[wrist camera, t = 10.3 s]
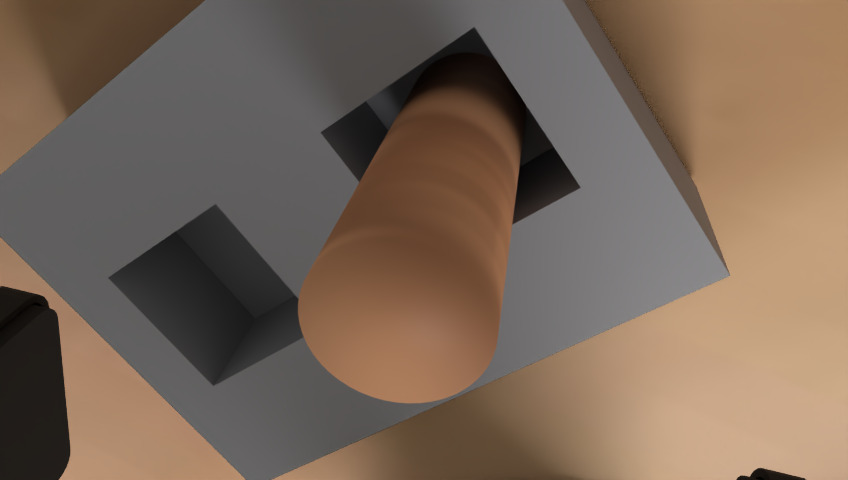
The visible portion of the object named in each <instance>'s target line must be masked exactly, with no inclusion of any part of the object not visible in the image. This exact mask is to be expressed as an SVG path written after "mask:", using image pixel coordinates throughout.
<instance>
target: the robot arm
mask: <svg viewBox="0 0 848 480" xmlns="http://www.w3.org/2000/svg"><path fill="white" fill-rule="evenodd" d="M69 457H70V440H69V429H68V419H67V408H66V398H65V387H64V377H63V366H62V356H61V345H60V335H59V324H58V317H57V313H56V312H55V310H53V309H50V308H49V305H48V301H47V300H46V299H45V297H43V296H41V295H38V294H33V293H29V292H25V291H21V290H17V289H13V288H8V287H4V286H2V287H0V480H59V478H60V477H61V476H62V474H63V473H64V471H65V469H66V467H67V464H68V461H69ZM737 480H806V479H805V478H801V477H796V476H792V475H788V474H784V473H780V472H776V471H771V470H767V469H763V468H758V469H756V470H755V471H753V473H752V474H751V476H750V477H747V476H740V477H738V478H737Z"/></svg>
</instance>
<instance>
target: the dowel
mask: <svg viewBox="0 0 848 480" xmlns="http://www.w3.org/2000/svg"><path fill="white" fill-rule="evenodd" d="M525 120H526V104H525V102H524V101H523V99H522V98H521V96H520V95H519V93H518V92H517V90H516V89H515V87H514V86H513V84H512V83H511V81H510V80H509V78H508V77H507V75H506V74H505V72H504V71H503V69H502V68H501V66H500V65H499V63H498V62H497V60H495V59H493V58H491V57H488V56H485V55H482V54H477V53H456V54H451V55H448V56H445V57H443V58H440V59H439V60H437V61H435V62H434V63H432V64H431V65H430V66H429V67H427V68H426V69H425V70H424V72H423V73H422V74H421V75H420V77H419V78H418V80H417V81H416V83H415V85H414V87H413V89H412V90H411V92H410V94H409V96H408V97H407V99H406V101H405V103H404V104H403V106H402V108H401V110H400V112H399V113H398V115H397V117H396V119H395V120H394V122H393V124H392V126H391V127H390V129H389V131H388V133H387V135H386V136H385V138H384V140H383V142H382V143H381V145H380V147H379V149H378V150H377V152H376V154H375V156H374V158H373V159H372V161H371V163H370V165H369V166H368V168H367V170H366V172H365V174H364V175H363V177H362V179H361V181H360V182H359V184H358V186H357V188H356V189H355V191H354V193H353V195H352V197H351V198H350V200H349V202H348V204H347V205H346V207H345V209H344V211H343V212H342V214H341V216H340V218H339V220H338V221H337V223H336V225H335V227H334V228H333V230H332V232H331V234H330V235H329V237H328V239H327V241H326V243H325V244H324V246H323V248H322V250H321V251H320V253H319V255H318V257H317V258H316V260H315V262H314V264H313V266H312V267H311V269H310V271H309V273H308V274H307V276H306V278H305V280H304V282H303V285H302V288H301V291H300V294H299V301H298V317H299V323H300V327H301V330H302V334H303V336H304V338H305V341H306V343H307V345H308V347H309V348H310V350H311V351H312V353H313V355H314V356H315V357H316V358H317V360H318V361H319V362H320V363H321V365H322V366H323V367H324V368H326V369H327V370H328V371H329V372H330V373H331V374H332V375H333V376H335V377H336V378H337V379H338V380H340V381H341V382H343V383H344V384H346V385H347V386H349V387H351V388H353V389H355V390H357V391H359V392H361V393H363V394H366V395H369V396H371V397H374V398H378V399H381V400H386V401H391V402H397V403H425V402H432V401H437V400H441V399H444V398H447V397H450V396H452V395H455V394H457V393H459V392H461V391H462V390H464V389H466V388H467V387H468V386H470V385H471V384H473V383H474V382H475V381H476V380H477V379H478V378H479V377H480V376H481V375H482V374H483V372H484V371H485V370H486V369H487V367H488V365H489V364H490V362H491V360H492V358H493V355H494V352H495V350H496V345H497V340H498V333H499V325H500V317H501V309H502V301H503V293H504V285H505V278H506V270H507V262H508V254H509V246H510V238H511V230H512V222H513V214H514V207H515V199H516V191H517V183H518V175H519V167H520V159H521V151H522V143H523V136H524V128H525Z"/></svg>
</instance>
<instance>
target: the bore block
mask: <svg viewBox="0 0 848 480" xmlns="http://www.w3.org/2000/svg"><path fill="white" fill-rule="evenodd" d="M456 53H477V54H482V55H485V56H488V57H491V58H493V59H495V60H497V62H498V63H499V65H500V66H501V68H502V69H503V71H504V72H505V74H506V75H507V77H508V78H509V80H510V81H511V83H512V84H513V86H514V87H515V89H516V90H517V92H518V93H519V95H520V96H521V98H522V99H523V101H524V102H525V104H526V120H525V128H524V136H523V143H522V151H521V159H520V167H519V175H518V183H517V191H516V199H515V207H514V214H513V222H512V230H511V238H510V246H509V254H508V262H507V270H506V278H505V285H504V293H503V301H502V309H501V317H500V325H499V333H498V340H497V345H496V350H495V352H494V355H493V358H492V360H491V362H490V364H489V365H488V367H487V369H486V370H485V371H484V372H483V374H482V375H481V376H480V377H479V378H478V379H477V380H476V381H475V382H474V383H473V384H471V385H470V386H468V387H467V388H466V389H464V390H462V391H461V392H459V393H457V394H455V395H452V396H450V397H447V398H444V399H441V400H437V401H432V402H425V403H397V402H391V401H386V400H381V399H378V398H374V397H371V396H369V395H366V394H363V393H361V392H359V391H357V390H355V389H353V388H351V387H349V386H347V385H346V384H344V383H343V382H341V381H340V380H338V379H337V378H336V377H335V376H333V375H332V374H331V373H330V372H329V371H328V370H327V369H326V368H324V367H323V366H322V365H321V363H320V362H319V361H318V360H317V358H316V357H315V356H314V355H313V353H312V351H311V350H310V348H309V347H308V345H307V343H306V341H305V338H304V336H303V334H302V330H301V327H300V323H299V317H298V301H299V294H300V291H301V288H302V285H303V282H304V280H305V278H306V276H307V274H308V273H309V271H310V269H311V267H312V266H313V264H314V262H315V260H316V258H317V257H318V255H319V253H320V251H321V250H322V248H323V246H324V244H325V243H326V241H327V239H328V237H329V235H330V234H331V232H332V230H333V228H334V227H335V225H336V223H337V221H338V220H339V218H340V216H341V214H342V212H343V211H344V209H345V207H346V205H347V204H348V202H349V200H350V198H351V197H352V195H353V193H354V191H355V189H356V188H357V186H358V184H359V182H360V181H361V179H362V177H363V175H364V174H365V172H366V170H367V168H368V166H369V165H370V163H371V161H372V159H373V158H374V156H375V154H376V152H377V150H378V149H379V147H380V145H381V143H382V142H383V140H384V138H385V136H386V135H387V133H388V131H389V129H390V127H391V126H392V124H393V122H394V120H395V119H396V117H397V115H398V113H399V112H400V110H401V108H402V106H403V104H404V103H405V101H406V99H407V97H408V96H409V94H410V92H411V90H412V89H413V87H414V85H415V83H416V81H417V80H418V78H419V77H420V75H421V74H422V73H423V72H424V70H425V69H426V68H427V67H429V66H430V65H431V64H432V63H434V62H435V61H437V60H439V59H440V58H443V57H445V56H448V55H451V54H456ZM0 237H1V238H2V239H3V240H4V241H5V242H6V243H7V244H8V245H9V246H10V247H11V248H12V249H13V250H14V251H15V252H16V253H17V254H18V255H19V256H20V257H21V258H22V259H23V260H24V261H25V262H26V263H27V264H28V265H29V266H30V267H32V268H33V269H34V270H35V271H36V272H37V273H38V274H39V275H40V276H41V277H42V278H43V279H44V280H45V281H46V282H47V283H48V284H49V285H50V286H51V287H52V288H53V289H54V290H55V291H56V292H57V293H58V294H59V295H60V296H61V297H62V298H63V299H64V300H65V301H66V302H67V303H68V304H69V305H70V306H71V307H72V308H73V309H74V310H75V311H76V312H77V313H78V314H79V315H80V316H81V317H82V318H83V319H84V320H85V321H86V322H87V323H88V324H89V325H90V326H91V327H92V328H93V329H94V330H95V331H96V332H97V333H98V334H99V335H100V336H101V337H102V338H103V339H104V340H105V341H106V342H107V343H108V344H109V345H110V346H111V347H112V348H113V349H114V350H115V351H116V352H117V353H119V354H120V355H121V356H122V357H123V358H124V359H125V360H126V361H127V362H128V363H129V364H130V365H131V366H132V367H133V368H134V369H135V370H136V371H137V372H138V373H139V374H140V375H141V376H142V377H143V378H144V379H145V380H146V381H147V382H148V383H149V384H150V385H151V386H152V387H153V388H154V389H155V390H156V391H157V392H158V393H159V394H160V395H161V396H162V397H163V398H164V399H165V400H166V401H167V402H168V403H169V404H170V405H171V406H172V407H173V408H174V409H175V410H176V411H177V412H178V413H179V414H180V415H181V416H182V417H183V418H184V419H185V420H186V421H187V422H188V423H189V424H190V425H191V426H192V427H193V428H194V429H195V430H196V431H197V432H198V433H199V434H200V435H201V436H202V437H203V438H204V439H206V440H207V441H208V442H209V443H210V444H211V445H212V446H213V447H214V448H215V449H216V450H217V451H218V452H219V453H220V454H221V455H222V456H223V457H224V458H225V459H226V460H227V461H228V462H229V463H230V464H231V465H232V466H233V467H234V468H235V469H236V470H237V471H238V472H239V473H240V474H241V475H242V476H243V477H244V478H245V479H246V480H271V479H274V478H276V477H278V476H280V475H283V474H285V473H287V472H289V471H292V470H294V469H296V468H298V467H301V466H303V465H305V464H307V463H310V462H312V461H314V460H316V459H319V458H321V457H323V456H325V455H328V454H330V453H332V452H334V451H337V450H339V449H341V448H343V447H346V446H348V445H350V444H352V443H355V442H357V441H359V440H361V439H364V438H366V437H368V436H370V435H373V434H375V433H377V432H379V431H382V430H384V429H386V428H388V427H391V426H393V425H395V424H397V423H400V422H402V421H404V420H406V419H409V418H411V417H413V416H415V415H418V414H420V413H422V412H424V411H427V410H429V409H431V408H433V407H436V406H438V405H440V404H442V403H445V402H447V401H449V400H451V399H454V398H456V397H458V396H460V395H463V394H465V393H467V392H469V391H472V390H474V389H476V388H478V387H481V386H483V385H485V384H487V383H490V382H492V381H494V380H496V379H499V378H501V377H503V376H505V375H508V374H510V373H512V372H514V371H517V370H519V369H521V368H523V367H526V366H528V365H530V364H532V363H535V362H537V361H539V360H541V359H544V358H546V357H548V356H550V355H553V354H555V353H557V352H559V351H562V350H564V349H566V348H568V347H571V346H573V345H575V344H577V343H580V342H582V341H584V340H586V339H589V338H591V337H593V336H595V335H598V334H600V333H602V332H604V331H607V330H609V329H611V328H613V327H616V326H618V325H620V324H622V323H625V322H627V321H629V320H631V319H634V318H636V317H638V316H640V315H642V314H645V313H647V312H649V311H651V310H654V309H656V308H658V307H660V306H663V305H665V304H667V303H669V302H672V301H674V300H676V299H678V298H681V297H683V296H685V295H687V294H690V293H692V292H694V291H696V290H699V289H701V288H703V287H705V286H708V285H710V284H712V283H714V282H717V281H719V280H721V279H723V278H726V277H728V276H730V274H729V271H728V268H727V266H726V263H725V261H724V258H723V255H722V253H721V250H720V247H719V245H718V242H717V240H716V237H715V234H714V232H713V229H712V227H711V224H710V221H709V219H708V216H707V213H706V211H705V208H704V206H703V203H702V200H701V198H700V195H699V192H698V190H697V187H696V185H695V184H694V182H693V180H692V179H691V177H690V175H689V174H688V172H687V170H686V169H685V167H684V165H683V164H682V162H681V160H680V159H679V157H678V155H677V154H676V152H675V150H674V149H673V147H672V145H671V144H670V142H669V140H668V139H667V137H666V135H665V134H664V132H663V130H662V129H661V127H660V125H659V124H658V122H657V120H656V118H655V117H654V115H653V113H652V112H651V110H650V108H649V107H648V105H647V103H646V102H645V100H644V98H643V97H642V95H641V93H640V92H639V90H638V88H637V87H636V85H635V83H634V82H633V80H632V78H631V77H630V75H629V73H628V72H627V70H626V68H625V67H624V65H623V63H622V62H621V60H620V58H619V57H618V55H617V53H616V52H615V50H614V48H613V47H612V45H611V43H610V42H609V40H608V38H607V37H606V35H605V33H604V32H603V30H602V28H601V26H600V25H599V23H598V21H597V20H596V18H595V16H594V15H593V13H592V11H591V10H590V8H589V6H588V5H587V3H586V1H585V0H205V1H204V2H203V3H201V4H200V5H199V6H198V7H197V8H196V9H194V10H193V11H192V12H191V13H190V14H188V15H187V16H186V17H185V18H184V19H183V20H181V21H180V22H179V23H178V24H177V25H176V26H174V27H173V28H172V29H171V30H170V31H169V32H167V33H166V34H165V35H164V36H163V37H162V38H160V39H159V40H158V41H157V42H156V43H155V44H153V45H152V46H151V47H150V48H149V49H147V50H146V51H145V52H144V53H143V54H142V55H140V56H139V57H138V58H137V59H136V60H135V61H133V62H132V63H131V64H130V65H129V66H128V67H126V68H125V69H124V70H123V71H122V72H121V73H119V74H118V75H117V76H116V77H115V78H114V79H112V80H111V81H110V82H109V83H108V84H106V85H105V86H104V87H103V88H102V89H101V90H99V91H98V92H97V93H96V94H95V95H94V96H92V97H91V98H90V99H89V100H88V101H87V102H85V103H84V104H83V105H82V106H81V107H80V108H78V109H77V110H76V111H75V112H74V113H73V114H71V115H70V116H69V117H68V118H67V119H65V120H64V121H63V122H62V123H61V124H60V125H58V126H57V127H56V128H55V129H54V130H53V131H51V132H50V133H49V134H48V135H47V136H46V137H44V138H43V139H42V140H41V141H40V142H39V143H37V144H36V145H35V146H34V147H33V148H31V149H30V150H29V151H28V152H27V153H26V154H24V155H23V156H22V157H21V158H20V159H19V160H17V161H16V162H15V163H14V164H13V165H12V166H10V167H9V168H8V169H7V170H6V171H5V172H3V173H2V174H1V175H0Z"/></svg>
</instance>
